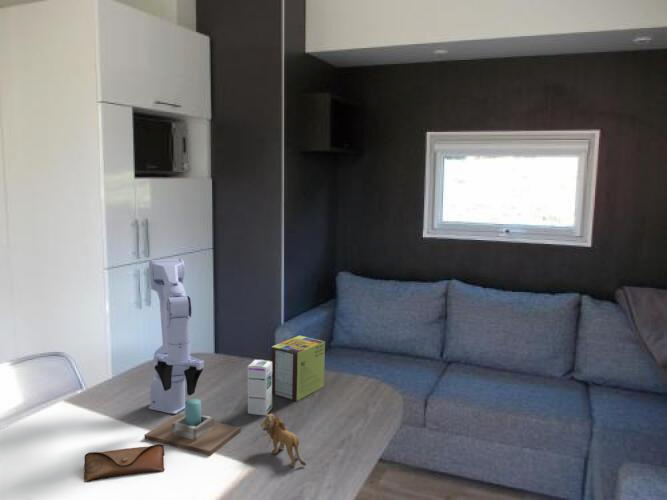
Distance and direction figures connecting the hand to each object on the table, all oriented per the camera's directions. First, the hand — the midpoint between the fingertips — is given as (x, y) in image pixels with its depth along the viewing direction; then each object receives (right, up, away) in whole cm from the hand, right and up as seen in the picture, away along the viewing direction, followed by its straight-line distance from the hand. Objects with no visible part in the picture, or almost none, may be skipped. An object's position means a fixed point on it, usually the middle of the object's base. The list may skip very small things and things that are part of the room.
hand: (179, 391), depth 150 cm
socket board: (+4, -11, -2) cm, 12 cm away
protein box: (+30, -7, +31) cm, 43 cm away
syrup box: (+20, -9, +14) cm, 26 cm away
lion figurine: (+28, -13, -11) cm, 33 cm away
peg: (+4, -10, -2) cm, 11 cm away
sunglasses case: (-7, -14, -19) cm, 24 cm away
